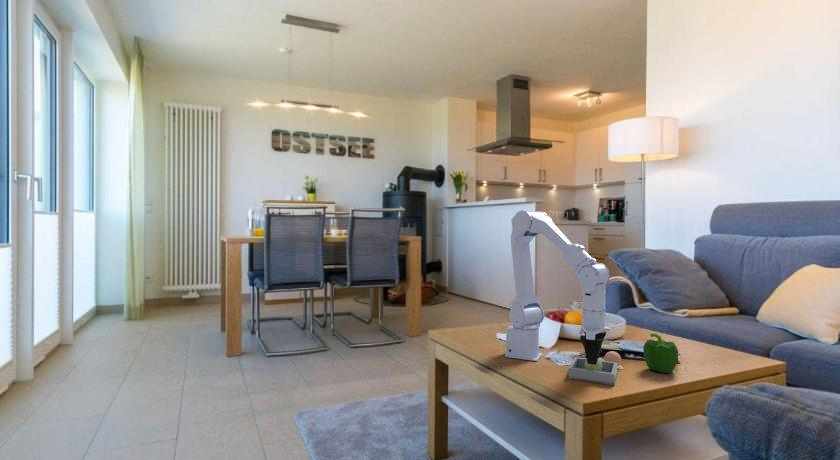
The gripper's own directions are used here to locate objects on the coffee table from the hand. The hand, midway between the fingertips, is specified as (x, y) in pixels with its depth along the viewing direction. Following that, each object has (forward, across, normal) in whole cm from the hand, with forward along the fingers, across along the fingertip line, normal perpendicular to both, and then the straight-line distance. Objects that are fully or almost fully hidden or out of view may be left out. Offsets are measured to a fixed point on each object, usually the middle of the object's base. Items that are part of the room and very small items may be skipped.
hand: (593, 361), depth 119 cm
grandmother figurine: (+4, +24, +3) cm, 25 cm away
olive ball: (+3, 0, 0) cm, 3 cm away
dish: (+4, 0, 0) cm, 4 cm away
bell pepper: (+4, +14, -16) cm, 21 cm away
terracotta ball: (+4, +10, -4) cm, 12 cm away
